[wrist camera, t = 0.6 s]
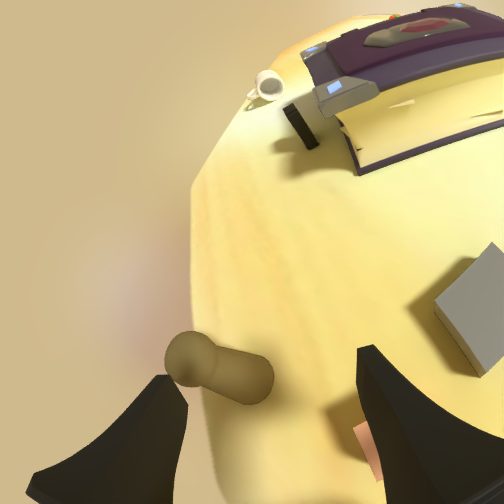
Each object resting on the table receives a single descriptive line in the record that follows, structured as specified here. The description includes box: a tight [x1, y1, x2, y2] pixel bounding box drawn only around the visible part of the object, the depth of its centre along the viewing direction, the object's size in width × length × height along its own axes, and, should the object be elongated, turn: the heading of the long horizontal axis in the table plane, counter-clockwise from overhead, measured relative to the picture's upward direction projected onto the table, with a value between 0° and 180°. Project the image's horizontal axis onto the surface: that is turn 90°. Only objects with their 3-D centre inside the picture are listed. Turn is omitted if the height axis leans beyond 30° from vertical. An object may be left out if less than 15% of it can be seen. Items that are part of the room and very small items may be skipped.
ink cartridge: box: [283, 103, 319, 150], centre depth 45 cm, size 5×2×8 cm, turn 4°
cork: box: [165, 331, 274, 405], centre depth 25 cm, size 6×6×11 cm
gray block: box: [434, 242, 504, 377], centre depth 16 cm, size 8×8×4 cm
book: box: [300, 3, 504, 176], centre depth 30 cm, size 33×45×14 cm
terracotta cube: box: [353, 421, 383, 482], centre depth 15 cm, size 5×5×5 cm
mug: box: [247, 70, 285, 101], centre depth 71 cm, size 12×10×8 cm
